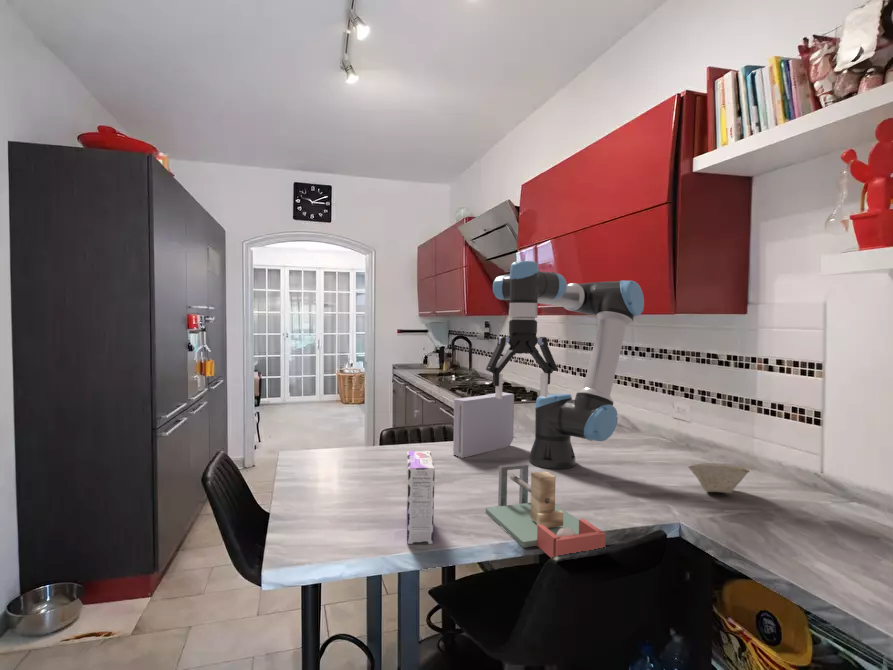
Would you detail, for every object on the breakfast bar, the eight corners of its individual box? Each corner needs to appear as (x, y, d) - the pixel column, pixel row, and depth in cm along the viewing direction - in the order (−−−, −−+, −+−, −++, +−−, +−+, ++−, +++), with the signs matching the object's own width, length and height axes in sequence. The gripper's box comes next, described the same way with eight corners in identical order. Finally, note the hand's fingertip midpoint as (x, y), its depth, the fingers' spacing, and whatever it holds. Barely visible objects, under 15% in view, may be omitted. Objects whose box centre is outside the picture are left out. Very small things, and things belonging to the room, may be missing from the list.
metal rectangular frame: (524, 502, 131) (525, 463, 130) (527, 504, 129) (528, 465, 129) (498, 505, 128) (499, 465, 128) (500, 507, 127) (501, 467, 126)
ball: (581, 538, 103) (575, 549, 105) (572, 521, 106) (567, 533, 108) (565, 540, 102) (559, 552, 104) (556, 524, 105) (550, 535, 107)
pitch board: (549, 505, 129) (549, 500, 129) (596, 536, 110) (596, 531, 110) (485, 512, 123) (485, 507, 123) (523, 547, 104) (523, 542, 104)
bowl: (741, 488, 144) (742, 454, 144) (754, 505, 131) (755, 467, 131) (684, 482, 149) (685, 449, 149) (691, 497, 136) (692, 461, 135)
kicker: (521, 495, 130) (522, 455, 130) (563, 525, 112) (564, 478, 111) (500, 497, 129) (501, 457, 128) (539, 528, 110) (540, 481, 109)
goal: (583, 538, 109) (583, 518, 109) (605, 554, 102) (605, 533, 101) (537, 545, 105) (537, 525, 105) (556, 562, 98) (556, 540, 98)
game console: (450, 455, 175) (451, 398, 175) (501, 443, 194) (502, 392, 193) (462, 458, 171) (463, 400, 171) (513, 445, 190) (514, 393, 189)
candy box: (406, 518, 118) (406, 450, 118) (430, 518, 119) (431, 450, 118) (406, 545, 105) (407, 467, 104) (434, 544, 105) (435, 467, 105)
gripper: (556, 319, 142) (554, 393, 143) (475, 318, 134) (473, 396, 135) (570, 319, 135) (569, 397, 136) (486, 318, 127) (484, 401, 128)
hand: (521, 397), depth 135 cm, fingers open, 13 cm apart
